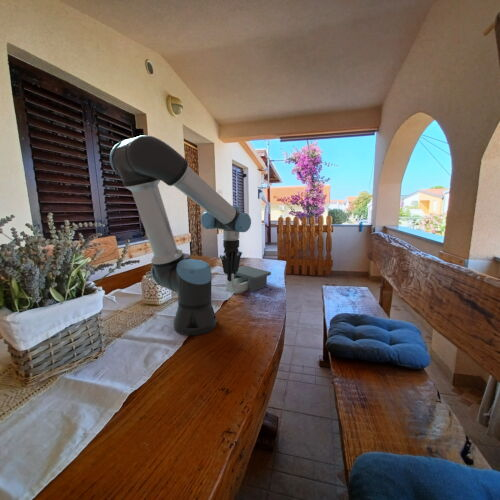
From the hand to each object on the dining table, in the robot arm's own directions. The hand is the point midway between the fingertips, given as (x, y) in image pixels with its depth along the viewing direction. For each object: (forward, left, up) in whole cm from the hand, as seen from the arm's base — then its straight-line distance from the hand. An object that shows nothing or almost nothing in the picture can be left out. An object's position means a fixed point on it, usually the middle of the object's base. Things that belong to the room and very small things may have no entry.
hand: (231, 286), depth 124 cm
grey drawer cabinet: (+14, 0, -3) cm, 15 cm away
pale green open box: (+9, 0, -3) cm, 9 cm away
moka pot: (-14, +23, -3) cm, 27 cm away
